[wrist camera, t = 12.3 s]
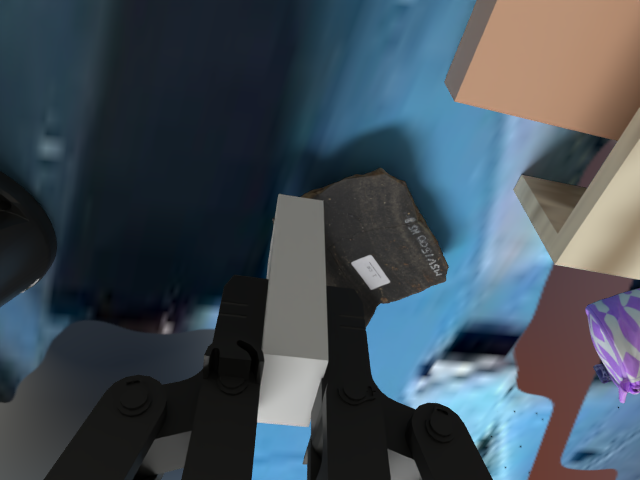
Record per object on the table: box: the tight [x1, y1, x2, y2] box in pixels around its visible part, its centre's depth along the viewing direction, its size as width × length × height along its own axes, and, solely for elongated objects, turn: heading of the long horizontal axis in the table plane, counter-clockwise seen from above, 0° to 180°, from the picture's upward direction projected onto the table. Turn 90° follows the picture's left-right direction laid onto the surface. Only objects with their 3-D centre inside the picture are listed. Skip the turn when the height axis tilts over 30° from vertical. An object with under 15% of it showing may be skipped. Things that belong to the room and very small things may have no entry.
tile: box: [444, 0, 640, 141], centre depth 31 cm, size 14×10×4 cm
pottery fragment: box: [272, 168, 449, 326], centre depth 41 cm, size 15×12×4 cm
